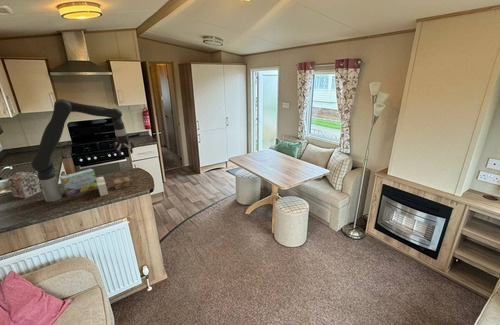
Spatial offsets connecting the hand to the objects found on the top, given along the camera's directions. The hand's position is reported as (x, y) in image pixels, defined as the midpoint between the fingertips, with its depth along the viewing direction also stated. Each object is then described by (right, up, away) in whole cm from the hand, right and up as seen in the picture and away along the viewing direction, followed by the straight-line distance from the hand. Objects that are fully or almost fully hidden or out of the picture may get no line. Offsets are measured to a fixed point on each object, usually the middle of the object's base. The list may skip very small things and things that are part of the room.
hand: (126, 153), depth 190 cm
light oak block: (-3, -26, +2) cm, 27 cm away
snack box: (-32, -29, -5) cm, 44 cm away
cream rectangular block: (-15, -29, -6) cm, 33 cm away
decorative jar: (-69, -31, -10) cm, 77 cm away
